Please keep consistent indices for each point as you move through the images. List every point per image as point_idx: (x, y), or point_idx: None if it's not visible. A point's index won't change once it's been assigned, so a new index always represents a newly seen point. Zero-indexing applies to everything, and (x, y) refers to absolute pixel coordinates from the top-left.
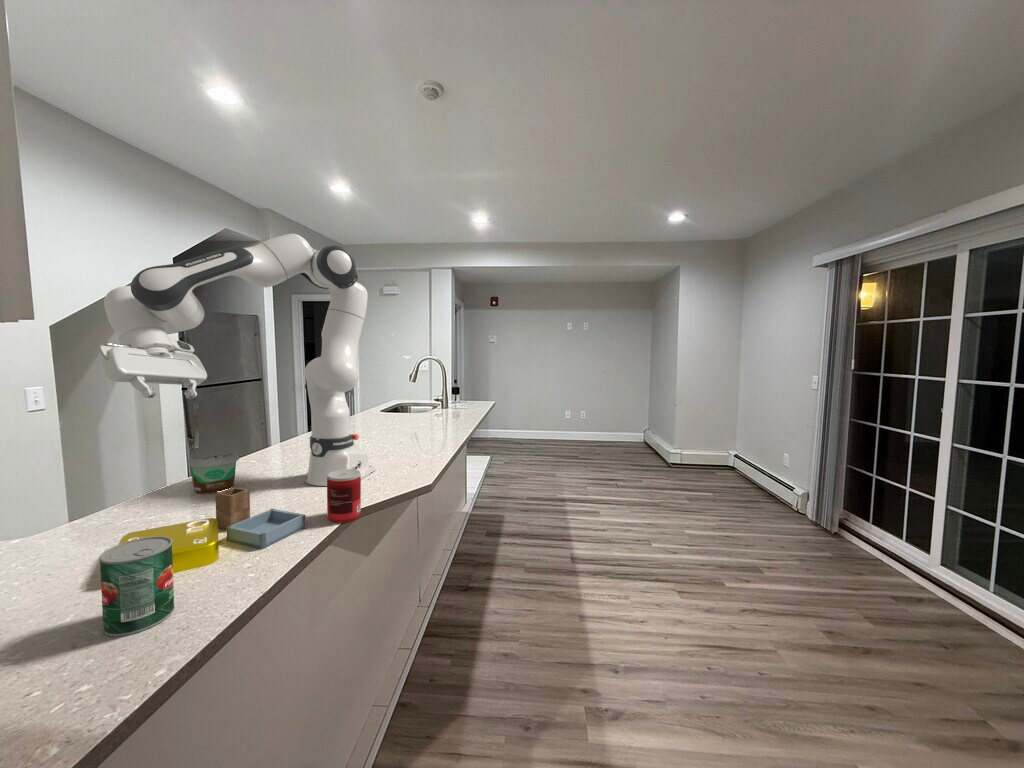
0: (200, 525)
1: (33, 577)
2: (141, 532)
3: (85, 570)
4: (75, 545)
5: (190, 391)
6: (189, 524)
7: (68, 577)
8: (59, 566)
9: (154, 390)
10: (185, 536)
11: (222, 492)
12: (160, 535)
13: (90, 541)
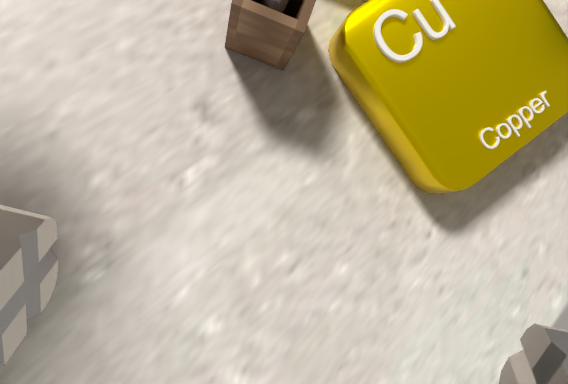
0: (399, 28)
1: (536, 293)
2: (447, 156)
3: (507, 212)
4: (399, 361)
5: (18, 243)
6: (405, 55)
7: (533, 220)
8: (494, 287)
9: (565, 363)
10: (464, 21)
11: (288, 17)
12: (462, 90)
13: (376, 346)
